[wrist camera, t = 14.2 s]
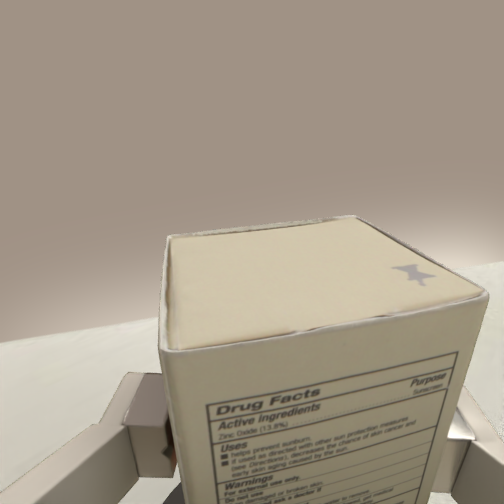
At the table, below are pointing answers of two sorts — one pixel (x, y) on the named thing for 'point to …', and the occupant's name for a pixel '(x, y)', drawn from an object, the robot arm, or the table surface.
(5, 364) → the table surface
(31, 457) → the table surface
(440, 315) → the medicine box
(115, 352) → the table surface
